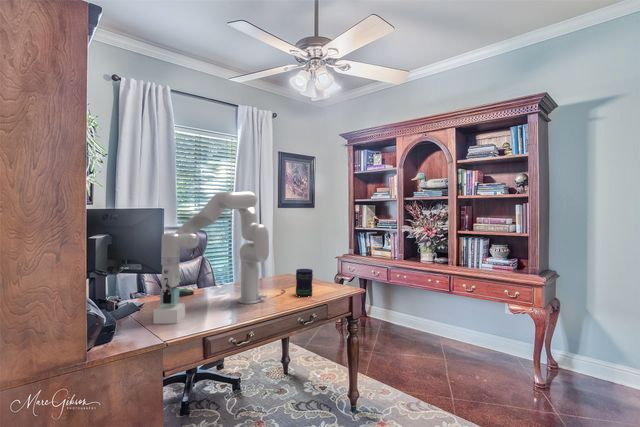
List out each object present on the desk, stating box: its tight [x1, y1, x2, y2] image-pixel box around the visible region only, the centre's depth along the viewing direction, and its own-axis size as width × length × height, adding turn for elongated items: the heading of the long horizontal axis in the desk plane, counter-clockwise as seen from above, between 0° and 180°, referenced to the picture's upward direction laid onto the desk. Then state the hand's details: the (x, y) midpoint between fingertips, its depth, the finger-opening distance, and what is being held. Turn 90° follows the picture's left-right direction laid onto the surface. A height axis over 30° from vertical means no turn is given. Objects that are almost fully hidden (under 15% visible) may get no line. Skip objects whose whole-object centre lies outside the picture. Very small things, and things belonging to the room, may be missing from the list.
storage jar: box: [295, 268, 314, 298], centre depth 197 cm, size 10×10×15 cm
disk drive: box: [179, 288, 195, 298], centre depth 192 cm, size 10×3×15 cm
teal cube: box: [159, 287, 180, 306], centre depth 150 cm, size 6×6×6 cm
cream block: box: [152, 302, 186, 325], centre depth 150 cm, size 10×10×6 cm
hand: (169, 300), depth 150 cm, fingers closed on teal cube, 6 cm apart
